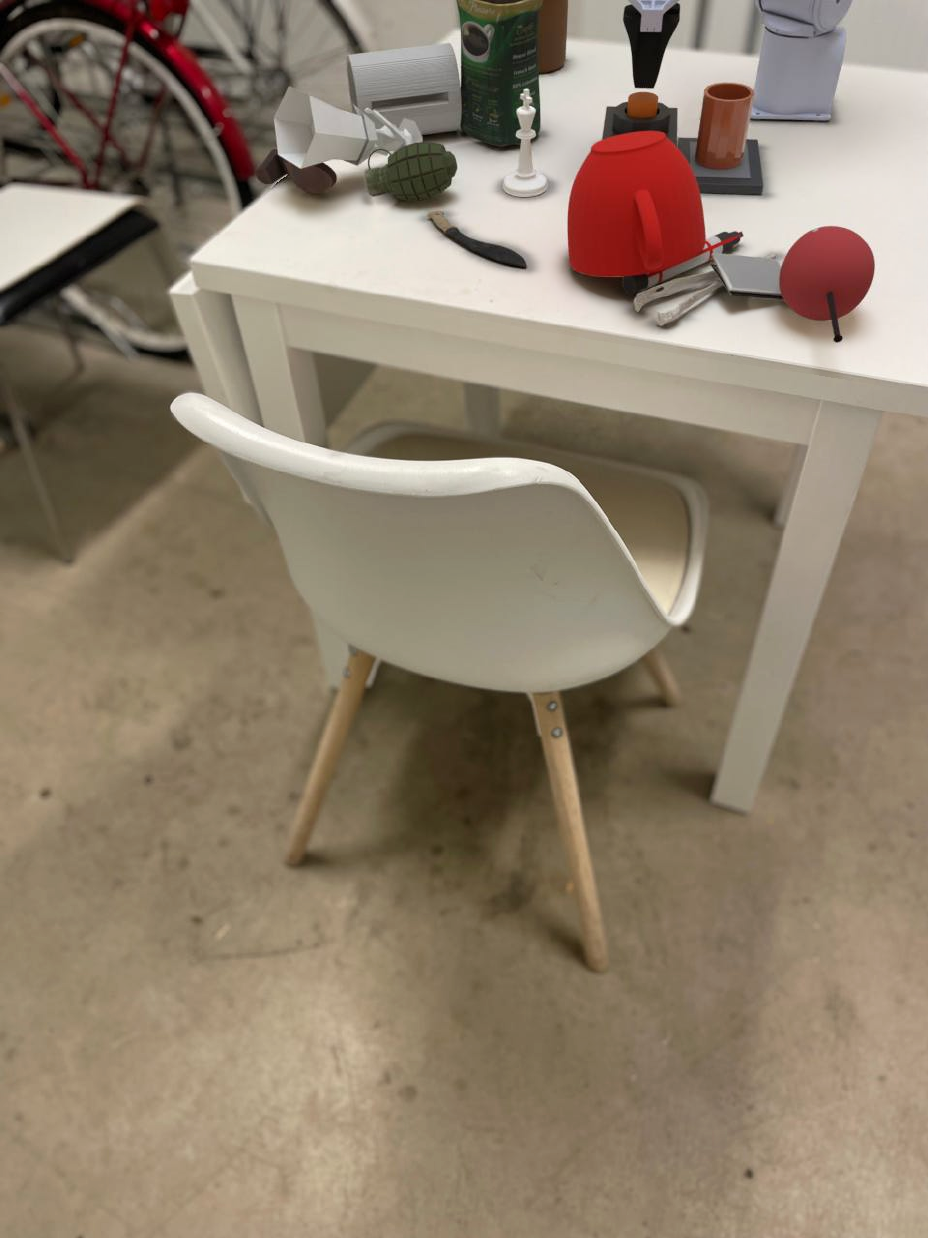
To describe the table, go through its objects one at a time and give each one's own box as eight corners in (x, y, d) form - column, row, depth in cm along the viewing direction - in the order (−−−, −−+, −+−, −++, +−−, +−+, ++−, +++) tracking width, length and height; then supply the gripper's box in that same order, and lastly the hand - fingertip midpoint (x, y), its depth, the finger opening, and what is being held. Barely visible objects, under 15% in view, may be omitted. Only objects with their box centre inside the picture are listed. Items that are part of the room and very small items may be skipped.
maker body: (672, 145, 111) (679, 90, 106) (671, 191, 103) (679, 133, 98) (603, 143, 112) (607, 88, 107) (597, 189, 104) (601, 132, 99)
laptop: (717, 242, 87) (707, 260, 88) (737, 282, 84) (727, 301, 86) (783, 249, 89) (772, 266, 91) (805, 288, 86) (794, 306, 88)
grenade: (458, 134, 104) (373, 156, 107) (444, 120, 98) (353, 143, 100) (469, 196, 106) (384, 216, 108) (455, 186, 99) (366, 207, 101)
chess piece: (516, 200, 103) (517, 102, 95) (495, 183, 106) (493, 86, 98) (555, 190, 104) (559, 91, 97) (533, 173, 107) (535, 77, 100)
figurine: (271, 94, 100) (401, 120, 112) (279, 176, 102) (406, 193, 114) (310, 74, 95) (441, 104, 107) (317, 161, 97) (446, 181, 109)
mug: (506, 87, 125) (505, 4, 118) (472, 71, 129) (470, -10, 122) (577, 65, 129) (580, -16, 122) (542, 50, 133) (544, -29, 126)
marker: (639, 281, 87) (624, 269, 88) (634, 298, 89) (620, 287, 90) (753, 230, 93) (739, 219, 94) (747, 247, 95) (733, 237, 95)
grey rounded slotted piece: (349, 106, 117) (444, 94, 119) (363, 159, 114) (460, 146, 115) (344, 36, 109) (445, 24, 110) (358, 91, 106) (462, 78, 107)
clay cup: (741, 150, 107) (753, 82, 101) (743, 170, 103) (755, 101, 98) (694, 148, 107) (703, 81, 102) (694, 168, 104) (704, 100, 99)
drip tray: (756, 147, 109) (758, 138, 109) (761, 194, 102) (763, 184, 101) (677, 145, 111) (678, 135, 110) (676, 191, 103) (677, 181, 102)
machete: (536, 266, 94) (536, 259, 93) (513, 276, 92) (513, 269, 92) (440, 213, 101) (440, 206, 101) (417, 221, 100) (417, 214, 100)
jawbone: (665, 330, 85) (670, 309, 83) (628, 308, 87) (632, 287, 86) (791, 278, 92) (797, 258, 91) (753, 259, 95) (759, 239, 93)
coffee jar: (551, 135, 114) (557, -49, 100) (503, 155, 111) (503, -33, 97) (497, 113, 119) (495, -65, 105) (449, 132, 116) (441, -50, 102)
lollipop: (769, 362, 78) (762, 280, 88) (856, 391, 78) (839, 305, 88) (817, 277, 72) (804, 200, 83) (911, 309, 73) (885, 228, 83)
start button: (656, 108, 104) (658, 91, 103) (656, 120, 102) (658, 102, 101) (627, 108, 104) (628, 90, 103) (626, 119, 102) (627, 102, 101)
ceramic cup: (730, 148, 76) (732, 272, 82) (684, 112, 90) (689, 221, 96) (570, 181, 77) (584, 301, 83) (549, 141, 91) (562, 246, 97)
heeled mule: (319, 157, 101) (339, 139, 102) (244, 154, 106) (264, 137, 108) (333, 197, 104) (352, 179, 106) (259, 193, 109) (279, 176, 111)
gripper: (620, -88, 96) (610, 60, 106) (614, -47, 87) (602, 111, 97) (691, -88, 95) (674, 61, 105) (692, -47, 86) (673, 113, 96)
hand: (644, 85), depth 101 cm, fingers closed
